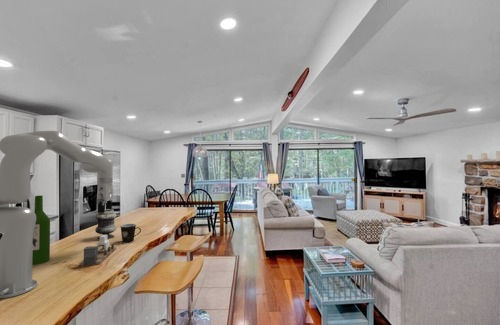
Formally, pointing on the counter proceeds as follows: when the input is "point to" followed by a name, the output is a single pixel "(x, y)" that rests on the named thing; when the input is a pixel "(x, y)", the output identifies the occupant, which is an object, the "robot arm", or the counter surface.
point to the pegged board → (96, 255)
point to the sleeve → (104, 242)
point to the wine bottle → (41, 234)
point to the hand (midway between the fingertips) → (105, 210)
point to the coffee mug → (128, 232)
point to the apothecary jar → (106, 223)
